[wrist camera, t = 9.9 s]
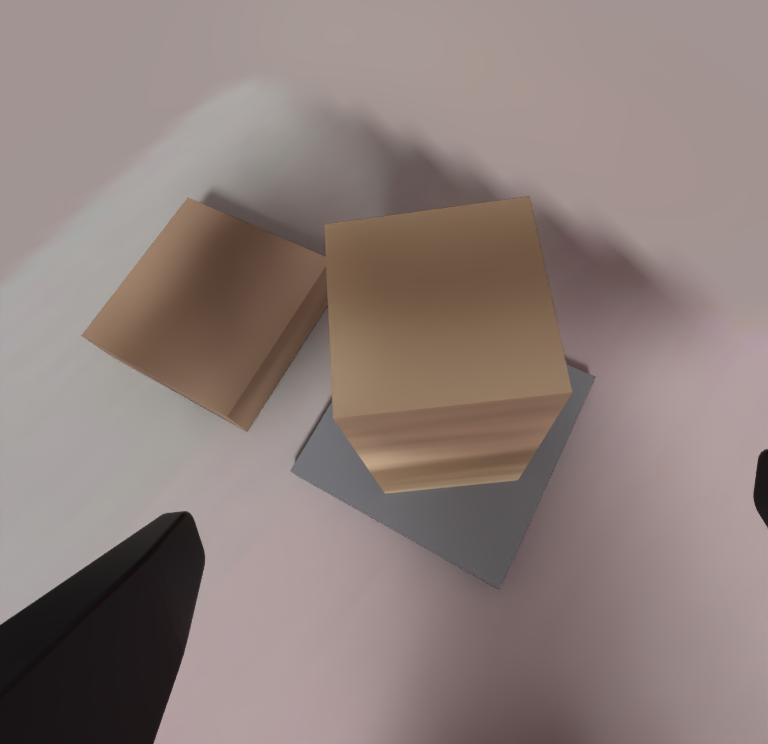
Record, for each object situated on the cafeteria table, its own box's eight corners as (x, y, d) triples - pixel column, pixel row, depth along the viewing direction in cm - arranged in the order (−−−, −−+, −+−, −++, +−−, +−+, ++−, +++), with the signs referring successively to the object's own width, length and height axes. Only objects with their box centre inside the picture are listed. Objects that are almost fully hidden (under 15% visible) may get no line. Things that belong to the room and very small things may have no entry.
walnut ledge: (340, 285, 23) (330, 258, 21) (247, 431, 21) (227, 416, 19) (207, 226, 25) (187, 197, 23) (111, 356, 23) (81, 335, 21)
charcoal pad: (591, 382, 20) (595, 376, 20) (497, 588, 18) (499, 589, 17) (399, 298, 22) (397, 291, 22) (294, 474, 20) (290, 470, 20)
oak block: (517, 480, 19) (572, 392, 10) (385, 493, 19) (332, 419, 11) (497, 357, 20) (529, 195, 12) (375, 372, 21) (323, 224, 12)
